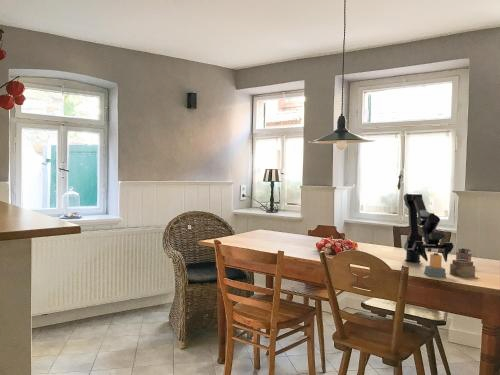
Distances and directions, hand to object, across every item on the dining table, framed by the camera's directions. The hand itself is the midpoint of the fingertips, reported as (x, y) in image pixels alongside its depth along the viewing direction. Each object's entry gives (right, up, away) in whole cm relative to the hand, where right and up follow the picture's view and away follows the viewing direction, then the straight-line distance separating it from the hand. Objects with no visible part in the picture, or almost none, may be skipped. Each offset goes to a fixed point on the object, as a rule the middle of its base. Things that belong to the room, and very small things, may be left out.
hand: (436, 261), depth 215 cm
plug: (0, -5, +2) cm, 5 cm away
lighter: (+25, -7, +25) cm, 37 cm away
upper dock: (+15, -8, +4) cm, 17 cm away
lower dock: (0, -7, +2) cm, 7 cm away
